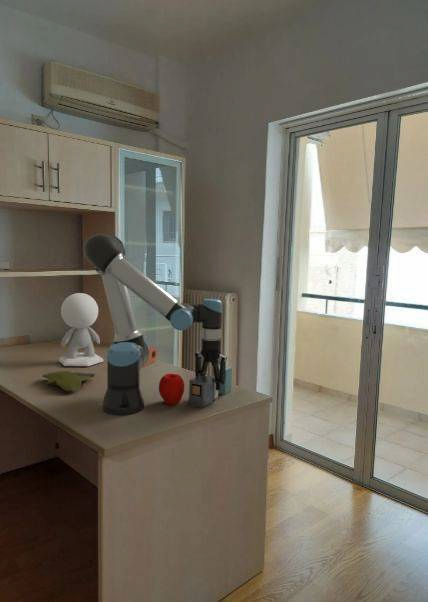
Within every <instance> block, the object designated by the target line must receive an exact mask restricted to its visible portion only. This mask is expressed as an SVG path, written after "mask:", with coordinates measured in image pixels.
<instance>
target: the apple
mask: <svg viewBox="0 0 428 602" xmlns="http://www.w3.org/2000/svg"><path fill="white" fill-rule="evenodd" d="M158 393H159V395H160V397H161V398H162V400H163V401H164V403H166V404H167V405H169V406H172V405H174V406H175V405H177V404H179V403H180V401H181V400H182V398H183V395H184V393H185V382H184V379H183V377H182V376H181V375H179V374H177V373H166V374H164V375H163V376H162V377H161V378H160V380H159V383H158Z"/></svg>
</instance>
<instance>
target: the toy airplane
mask: <svg viewBox="0 0 428 602" xmlns="http://www.w3.org/2000/svg"><path fill="white" fill-rule="evenodd" d="M41 377H43V378H45V379H48V381H47V382H46V384H47V385H55V386H58V387H60V388H61V389H63V390H64V391H66V392H67V391H69V392H72V391H74V390H77V389H80V388H81V386H82V382H83V381H85V380H89V379H91V378H94V377H95V373H84V372H83V373H82V372H71V371H70V370H69V371H67V370H66V371H65V370H61V371H60V370H59V371H54V372H50V373H44V374H43V375H41Z"/></svg>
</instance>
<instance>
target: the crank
mask: <svg viewBox="0 0 428 602" xmlns="http://www.w3.org/2000/svg"><path fill="white" fill-rule="evenodd" d="M148 348H149V357H148V360H147V362H146V363H145V364H144V365H143V366H142V368H144V367H146V366H148V365H151V364H153V363H154V362H156V360H157V357H158V349H157V347H156V346H151V345H148Z"/></svg>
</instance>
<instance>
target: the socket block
mask: <svg viewBox="0 0 428 602" xmlns="http://www.w3.org/2000/svg"><path fill="white" fill-rule="evenodd" d="M218 366H219V371H220V364H218ZM213 375H214V370H213V369H212V376H213ZM232 377H233V367H232V366H226V369H225V380H224V381H222V382H220V390H218V395H224V396H226V395H227V394H229V393H231V392H232V380H233V379H232Z"/></svg>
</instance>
